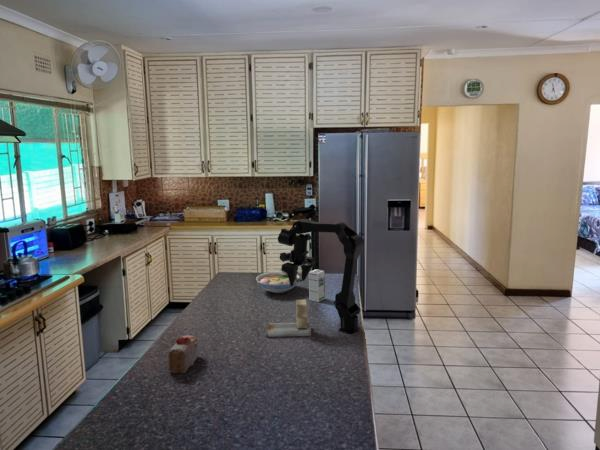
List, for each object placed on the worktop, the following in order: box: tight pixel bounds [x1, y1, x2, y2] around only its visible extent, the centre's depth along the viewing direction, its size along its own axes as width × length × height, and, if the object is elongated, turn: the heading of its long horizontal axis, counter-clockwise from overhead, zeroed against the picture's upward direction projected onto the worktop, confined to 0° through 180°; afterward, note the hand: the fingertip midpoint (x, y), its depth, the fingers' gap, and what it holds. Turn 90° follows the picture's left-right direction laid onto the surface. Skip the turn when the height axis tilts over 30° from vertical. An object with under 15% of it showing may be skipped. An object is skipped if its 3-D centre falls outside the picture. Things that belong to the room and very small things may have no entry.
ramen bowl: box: [255, 268, 303, 294], centre depth 235 cm, size 25×23×8 cm
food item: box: [167, 334, 201, 374], centre depth 159 cm, size 14×8×10 cm, turn 174°
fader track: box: [265, 321, 312, 338], centre depth 185 cm, size 18×8×2 cm, turn 92°
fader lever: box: [295, 299, 308, 329], centre depth 184 cm, size 4×6×11 cm
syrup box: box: [308, 268, 326, 303], centre depth 221 cm, size 6×6×14 cm
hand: (297, 283), depth 196 cm, fingers open, 9 cm apart
